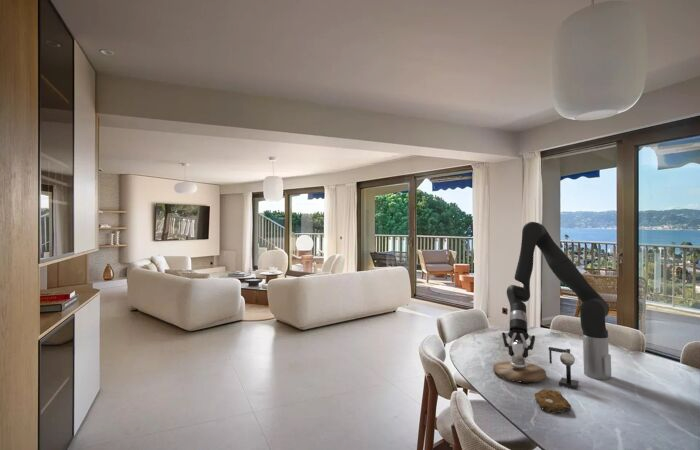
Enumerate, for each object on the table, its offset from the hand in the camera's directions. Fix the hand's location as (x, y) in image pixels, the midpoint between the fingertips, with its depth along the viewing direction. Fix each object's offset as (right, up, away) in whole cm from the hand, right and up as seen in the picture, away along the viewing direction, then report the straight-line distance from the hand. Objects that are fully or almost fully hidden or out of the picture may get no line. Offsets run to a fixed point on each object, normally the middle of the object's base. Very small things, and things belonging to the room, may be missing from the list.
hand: (518, 356), depth 160 cm
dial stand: (+14, -8, -9) cm, 19 cm away
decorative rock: (0, -9, -27) cm, 28 cm away
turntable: (+1, -8, +1) cm, 8 cm away
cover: (+1, -5, +2) cm, 5 cm away
